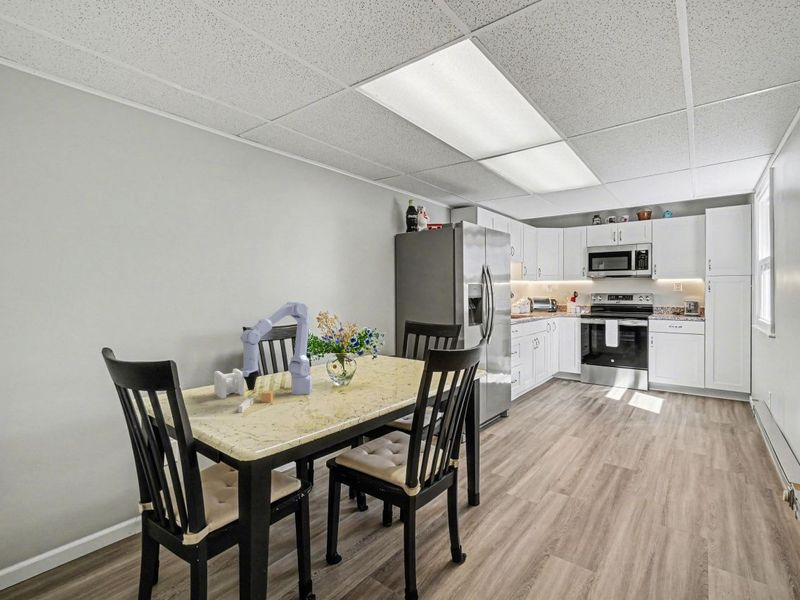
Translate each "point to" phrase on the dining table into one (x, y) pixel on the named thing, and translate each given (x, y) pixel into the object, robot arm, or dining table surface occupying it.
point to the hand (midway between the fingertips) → (251, 389)
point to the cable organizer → (228, 383)
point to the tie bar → (245, 404)
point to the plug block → (267, 396)
